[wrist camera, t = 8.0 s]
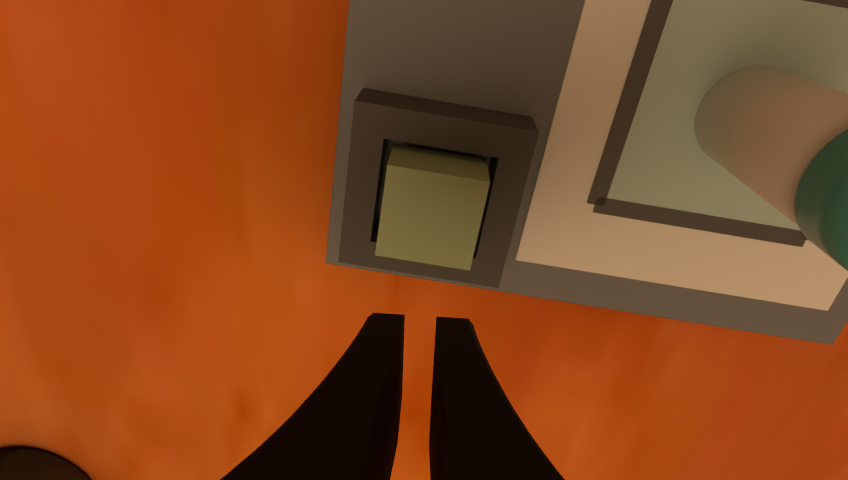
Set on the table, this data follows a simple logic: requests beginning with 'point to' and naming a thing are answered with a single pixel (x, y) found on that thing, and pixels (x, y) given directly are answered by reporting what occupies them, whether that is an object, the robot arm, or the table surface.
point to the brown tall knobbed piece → (36, 466)
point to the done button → (432, 207)
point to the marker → (784, 147)
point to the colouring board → (591, 151)
